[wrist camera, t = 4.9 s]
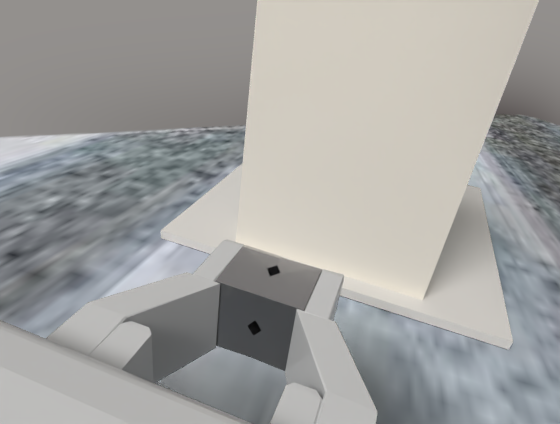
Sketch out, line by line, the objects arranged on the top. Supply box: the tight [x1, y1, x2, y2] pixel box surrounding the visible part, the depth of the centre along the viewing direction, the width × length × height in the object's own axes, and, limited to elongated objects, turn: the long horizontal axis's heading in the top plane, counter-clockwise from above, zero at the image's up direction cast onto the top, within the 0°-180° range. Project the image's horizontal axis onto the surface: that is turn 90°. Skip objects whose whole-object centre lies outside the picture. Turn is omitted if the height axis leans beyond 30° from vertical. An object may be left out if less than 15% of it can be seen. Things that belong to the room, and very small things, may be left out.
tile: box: [236, 0, 539, 300], centre depth 19 cm, size 10×2×14 cm, turn 71°
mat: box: [161, 163, 513, 350], centre depth 28 cm, size 18×18×1 cm
